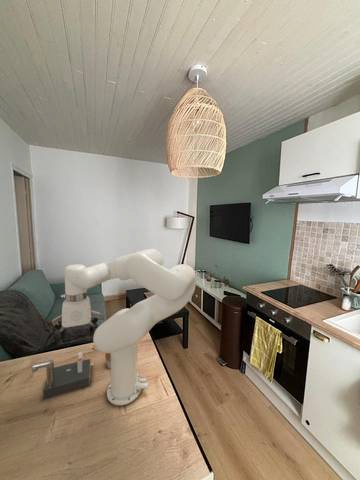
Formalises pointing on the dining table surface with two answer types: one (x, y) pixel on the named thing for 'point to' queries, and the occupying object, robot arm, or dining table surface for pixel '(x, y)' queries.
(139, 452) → the dining table surface
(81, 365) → the tap handle
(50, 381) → the spout
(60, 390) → the base
